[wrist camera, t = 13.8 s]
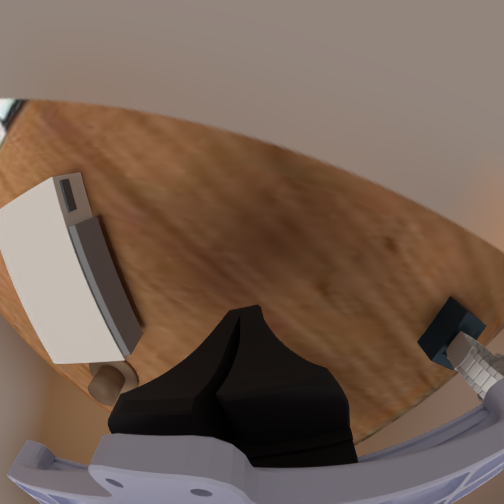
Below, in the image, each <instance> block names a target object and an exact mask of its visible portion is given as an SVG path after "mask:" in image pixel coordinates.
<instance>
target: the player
mask: <svg viewBox="0 0 504 504" xmlns="http://www.w3.org/2000/svg"><path fill="white" fill-rule="evenodd" d="M92 217H93V215H92V212H91V208H90V205H89V202H88V198H87V195H86V191H85V187H84V184H83V180H82V176H81V172H79V173H72V174H65V175H59V176H53V177H51V178H49V179H47V180H45V181H44V182H42V183H40V184H39V185H37V186H35V187H34V188H32V189H30V190H29V191H27V192H25V193H24V194H22V195H21V196H19V197H18V198H16V199H14V200H13V201H11V202H10V203H8V204H7V205H6V206H4V207H3V208H1V209H0V249H1V252H2V255H3V258H4V261H5V264H6V267H7V269H8V272H9V274H10V277H11V279H12V282H13V284H14V287H15V289H16V291H17V294H18V296H19V298H20V300H21V303H22V305H23V307H24V309H25V311H26V313H27V315H28V317H29V319H30V321H31V323H32V325H33V327H34V329H35V331H36V333H37V335H38V337H39V338H40V340H41V342H42V344H43V345H44V347H45V349H46V351H47V352H48V354H49V356H50V357H51V359H52V361H53V362H54V364H64V363H92V362H109V361H123V360H125V359H126V358H127V356H128V355H124V354H123V352H122V350H121V348H120V346H119V344H118V343H117V341H116V339H115V337H114V335H113V333H112V331H111V329H110V327H109V325H108V323H107V321H106V319H105V317H104V315H103V313H102V310H101V308H100V306H99V304H98V302H97V300H96V297H95V295H94V293H93V290H92V288H91V286H90V283H89V281H88V279H87V276H86V274H85V271H84V269H83V266H82V264H81V261H80V258H79V256H78V253H77V250H76V247H75V245H74V242H73V239H72V236H71V233H70V230H69V227H71V226H73V225H75V224H78V223H80V222H82V221H85V220H87V219H89V218H92Z"/></svg>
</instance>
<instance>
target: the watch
mask: <svg viewBox="0 0 504 504" xmlns="http://www.w3.org/2000/svg"><path fill="white" fill-rule="evenodd" d="M485 327H486V325H485V324H483V323H482V322H481V321H480V320H479V319H478V318H477V317H476V316H475V315H473V314H472V313H471V312H470V311H469V310H468V309H466V308H465V307H464V306H462V305H461V304H460V303H458V302H457V301H456V300H454V299H453V298H452V297H450V298H449V299H448V301H447V302H446V304H445V305H444V307H443V308H442V309H441V311H440V312H439V314H438V315H437V317H436V318H435V319H434V321H433V322H432V324H431V325H430V326H429V328H428V329H427V330H426V332H425V333H424V334H423V336H422V337H421V338H420V339H419V341H418V342H417V343H418V344H419V345H420V346H421V348H422V349H423V351H424V352H425V353H426V355H427V356H428V357H429V359H430V360H431V361H433V362H435V363H437V364H439V365H442V366H444V367H446V368H449V369H451V370H454V369H455V370H457V371H459V373H461V375H462V377H463V378H464V379H465V380H466V381H467V382H468V384H469V385H470V386H471V387H472V388H473V389H474V390H475V391H476V392H477V394H478V399H479V401H480V402H481V403H483V400H484V397H485V395H486V393H487V391H488V390H489V388H490V387H491V386H492V385H494V384H495V383H496V382H498V381H499V380H501V379H502V378H504V355H501V354H498V353H496V354H495V356H496V357H495V356H494V355H493V354H492V353H491V352H490V351H489V350H487V349H486V348H485V347H484V346H483V345H482V344H480V343H479V342H478V341H476V340H477V339H478V337H479V336H480V334H481V333H482V332H483V330H484V329H485ZM482 350H483V351H482ZM489 354H490V355H489ZM485 355H486V356H485ZM484 356H485V357H484ZM468 375H469V376H468ZM475 377H476V378H475ZM474 378H475V379H474Z"/></svg>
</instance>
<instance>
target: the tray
mask: <svg viewBox="0 0 504 504" xmlns="http://www.w3.org/2000/svg"><path fill="white" fill-rule="evenodd" d="M69 230H70V233H71V236H72V239H73V242H74V245H75V247H76V250H77V253H78V256H79V258H80V261H81V264H82V266H83V269H84V271H85V274H86V276H87V279H88V281H89V283H90V286H91V288H92V290H93V293H94V295H95V297H96V300H97V302H98V304H99V306H100V308H101V310H102V313H103V315H104V317H105V319H106V321H107V323H108V325H109V327H110V329H111V331H112V333H113V335H114V337H115V339H116V341H117V343H118V344H119V346H120V348H121V350H122V352H123V354H124V355H131V354H132V352H133V350H134V348H135V347H136V345H137V343H138V342H139V340H140V338H141V336H142V335H143V332H142V329H141V327H140V325H139V323H138V321H137V319H136V317H135V314H134V312H133V310H132V308H131V305H130V303H129V301H128V299H127V296H126V294H125V292H124V289H123V287H122V284H121V282H120V279H119V277H118V274H117V272H116V269H115V267H114V264H113V261H112V259H111V256H110V253H109V251H108V248H107V245H106V242H105V239H104V236H103V233H102V230H101V227H100V224H99V221H98V218H97V216H94V217H92V218H89V219H87V220H85V221H82V222H80V223H78V224H75V225H73V226H71V227H69Z"/></svg>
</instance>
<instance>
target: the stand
mask: <svg viewBox="0 0 504 504" xmlns="http://www.w3.org/2000/svg"><path fill="white" fill-rule="evenodd" d="M89 368H90V371H91V374H92V375H93V377H94V378H93V380H92V381H91V383H90V384H89V386H88V391H89V393H90V395H91V396H92V397H93V398H94V399H95V400H97V401H98V402H100V403H102V404H104V405H113V404H114V403H115V402H116V400H117V398H118V396H119V394H122V393H125V392H127V391H130V390H132V389H135V388H137V386H138V376H137V374H136V372H135V370H134V369H133V367H132V366H131V365H130V364H129V363H128V362H127V361H125V360H123V361H109V362H92V363H89Z"/></svg>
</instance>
